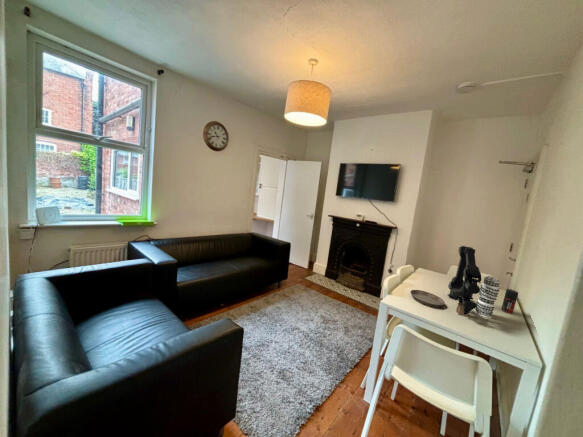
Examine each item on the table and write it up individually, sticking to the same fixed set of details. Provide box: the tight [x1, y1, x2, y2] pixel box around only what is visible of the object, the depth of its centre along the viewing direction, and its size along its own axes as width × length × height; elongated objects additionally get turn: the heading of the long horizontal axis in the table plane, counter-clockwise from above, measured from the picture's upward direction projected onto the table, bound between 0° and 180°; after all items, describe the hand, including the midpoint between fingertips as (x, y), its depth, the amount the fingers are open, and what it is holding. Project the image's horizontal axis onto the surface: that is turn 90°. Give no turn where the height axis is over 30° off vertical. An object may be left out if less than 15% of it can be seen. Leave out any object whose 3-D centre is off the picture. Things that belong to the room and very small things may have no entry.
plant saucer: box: [409, 289, 445, 308], centre depth 157 cm, size 21×21×3 cm
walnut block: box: [455, 302, 470, 318], centre depth 144 cm, size 5×5×6 cm
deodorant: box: [500, 288, 519, 315], centre depth 155 cm, size 6×6×15 cm
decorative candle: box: [474, 275, 501, 319], centre depth 146 cm, size 9×9×25 cm
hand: (462, 311), depth 144 cm, fingers open, 9 cm apart
